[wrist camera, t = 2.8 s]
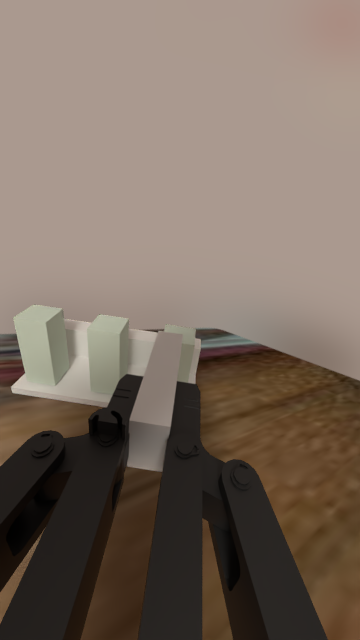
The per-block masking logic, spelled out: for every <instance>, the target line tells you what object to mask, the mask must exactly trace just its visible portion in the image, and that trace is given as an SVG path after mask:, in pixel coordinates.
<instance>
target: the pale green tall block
mask: <svg viewBox="0 0 360 640" xmlns="http://www.w3.org/2000/svg"><path fill="white" fill-rule="evenodd" d="M195 331H196V329H194V328H187V327H180V326H173V325H167V324H166V326H165V329H164V332H170V333H177V334H183V339H182V347H181V354H180V362H179V369H178V376H177V381H180V382H186V383H188V379H189V374H190V368H191V363H192V357H193V352H194V346H195Z"/></svg>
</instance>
